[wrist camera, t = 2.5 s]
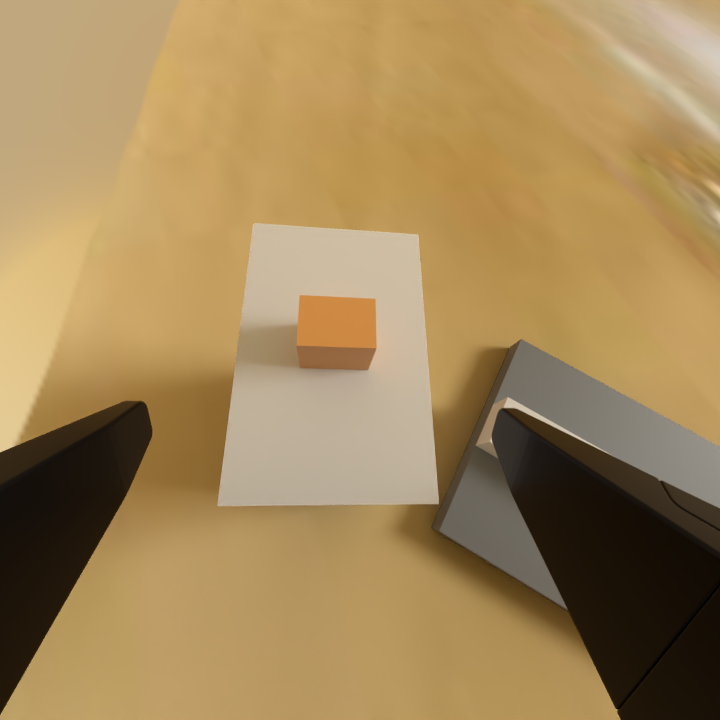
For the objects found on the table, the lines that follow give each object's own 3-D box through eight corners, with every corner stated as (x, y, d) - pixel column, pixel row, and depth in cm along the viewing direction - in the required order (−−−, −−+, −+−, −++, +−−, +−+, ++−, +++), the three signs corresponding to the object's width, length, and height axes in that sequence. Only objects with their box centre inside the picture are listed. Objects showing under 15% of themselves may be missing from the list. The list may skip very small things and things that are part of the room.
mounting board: (846, 530, 18) (928, 537, 16) (846, 781, 15) (954, 842, 12) (510, 347, 20) (536, 327, 18) (431, 528, 16) (451, 535, 14)
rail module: (367, 493, 17) (463, 508, 5) (283, 494, 16) (193, 510, 5) (365, 372, 19) (432, 196, 7) (291, 370, 18) (242, 180, 7)
